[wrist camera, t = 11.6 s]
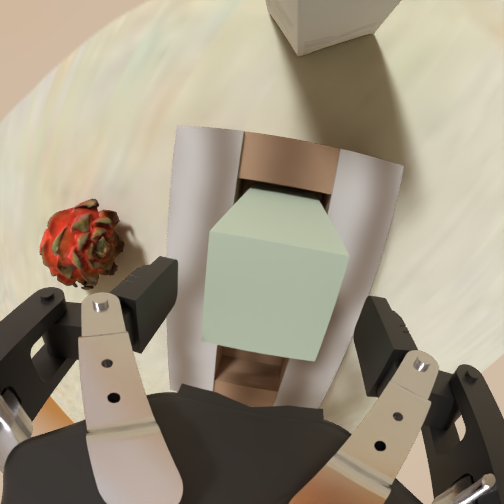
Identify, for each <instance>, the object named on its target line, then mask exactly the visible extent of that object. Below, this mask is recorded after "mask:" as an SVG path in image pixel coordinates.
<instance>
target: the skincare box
mask: <svg viewBox="0 0 504 504" xmlns="http://www.w3.org/2000/svg"><path fill="white" fill-rule="evenodd" d="M400 1H401V0H266V5H267V9H268V12H269V13H270V15H271V16H272V17H273V19H274V20H275V22H276V23H277V25H278V26H279V28H280V29H281V31H282V32H283V34H284V35H285V37H286V38H287V40H288V41H289V43H290V45H291V46H292V48H293V49H294V51H295V53H296V54H297V56H298V57H299V56H302V55H305V54H308V53H311V52H314V51H317V50H319V49H322V48H325V47H329V46H332V45H335V44H338V43H341V42H344V41H348V40H351V39H354V38H357V37H360V36H363V35H367V34H372V33H375V31H376V30H377V29H378V28H379V27H380V25H381V24H382V23H383V22H384V20H385V19H386V18H387V17H388V16H389V14H390V13H391V12H392V11H393V10H394V8H395V7H396V6H397V5H398V4H399V2H400Z"/></svg>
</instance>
